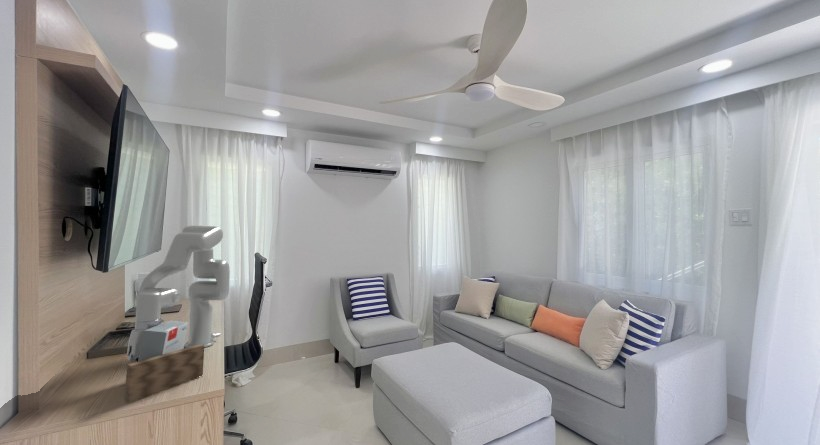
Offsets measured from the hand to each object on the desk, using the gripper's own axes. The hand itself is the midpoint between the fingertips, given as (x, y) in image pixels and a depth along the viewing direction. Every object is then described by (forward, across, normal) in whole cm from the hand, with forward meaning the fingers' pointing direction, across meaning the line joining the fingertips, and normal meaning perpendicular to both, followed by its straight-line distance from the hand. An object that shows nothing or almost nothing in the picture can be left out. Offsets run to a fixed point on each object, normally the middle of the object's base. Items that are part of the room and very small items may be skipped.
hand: (144, 373), depth 124 cm
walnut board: (+2, 0, +15) cm, 15 cm away
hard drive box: (+2, -2, +5) cm, 6 cm away
